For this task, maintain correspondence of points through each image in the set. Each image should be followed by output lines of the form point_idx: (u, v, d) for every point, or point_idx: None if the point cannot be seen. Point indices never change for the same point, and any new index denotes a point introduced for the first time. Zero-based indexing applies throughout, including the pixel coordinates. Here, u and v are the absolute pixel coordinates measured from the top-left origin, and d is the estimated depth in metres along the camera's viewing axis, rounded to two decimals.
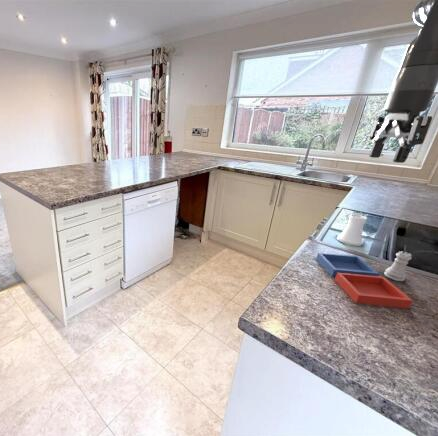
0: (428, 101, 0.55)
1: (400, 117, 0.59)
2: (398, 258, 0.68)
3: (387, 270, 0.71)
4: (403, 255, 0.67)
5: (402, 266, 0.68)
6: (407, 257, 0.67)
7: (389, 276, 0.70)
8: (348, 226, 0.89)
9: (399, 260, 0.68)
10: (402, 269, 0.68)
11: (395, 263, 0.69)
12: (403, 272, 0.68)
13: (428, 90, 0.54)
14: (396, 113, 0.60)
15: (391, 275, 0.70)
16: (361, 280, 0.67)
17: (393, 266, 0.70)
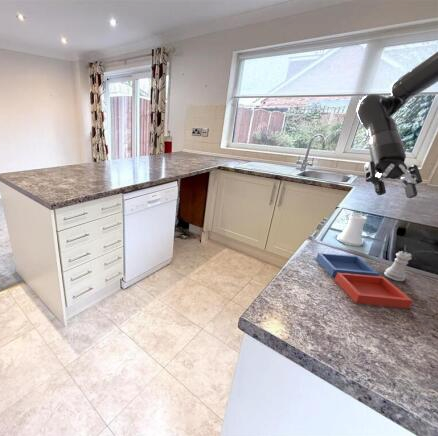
0: (382, 151, 0.75)
1: None
2: (398, 258, 0.68)
3: (387, 270, 0.71)
4: (403, 255, 0.67)
5: (402, 266, 0.68)
6: (407, 257, 0.67)
7: (389, 276, 0.70)
8: (348, 226, 0.89)
9: (399, 260, 0.68)
10: (402, 269, 0.68)
11: (395, 263, 0.69)
12: (403, 272, 0.68)
13: (376, 148, 0.77)
14: None
15: (391, 275, 0.70)
16: (361, 280, 0.67)
17: (393, 266, 0.70)
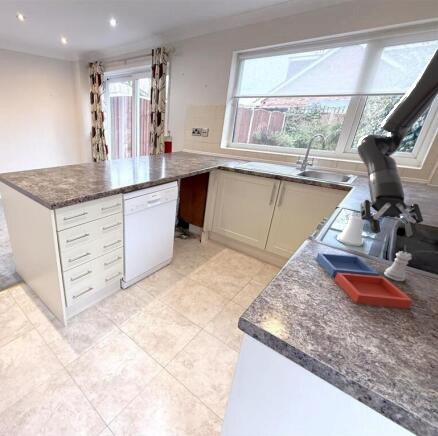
0: (378, 190, 0.76)
1: None
2: (398, 258, 0.68)
3: (387, 270, 0.71)
4: (403, 255, 0.67)
5: (402, 266, 0.68)
6: (407, 257, 0.67)
7: (389, 276, 0.70)
8: (348, 226, 0.89)
9: (399, 260, 0.68)
10: (402, 269, 0.68)
11: (395, 263, 0.69)
12: (403, 272, 0.68)
13: (373, 186, 0.78)
14: None
15: (391, 275, 0.70)
16: (361, 280, 0.67)
17: (393, 266, 0.70)
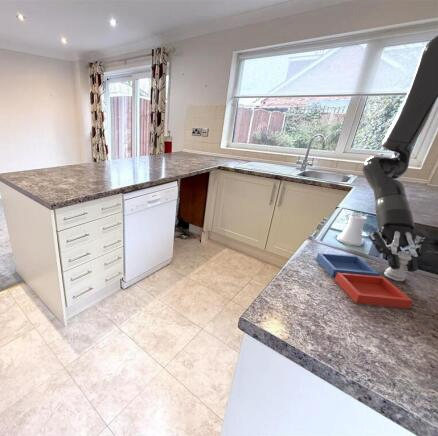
0: (386, 217, 0.72)
1: None
2: (398, 258, 0.68)
3: (387, 270, 0.71)
4: (403, 255, 0.67)
5: (402, 266, 0.68)
6: (407, 257, 0.67)
7: (389, 276, 0.70)
8: (348, 226, 0.89)
9: (399, 260, 0.68)
10: (402, 269, 0.68)
11: None
12: (403, 272, 0.68)
13: (380, 212, 0.74)
14: None
15: (391, 275, 0.70)
16: (361, 280, 0.67)
17: None
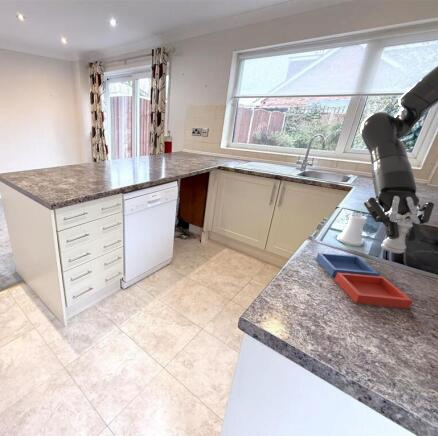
0: (384, 181, 0.62)
1: None
2: None
3: (385, 241, 0.62)
4: (403, 222, 0.58)
5: (402, 235, 0.59)
6: (408, 224, 0.58)
7: (387, 248, 0.61)
8: (348, 226, 0.89)
9: (398, 228, 0.59)
10: (401, 239, 0.59)
11: None
12: (403, 242, 0.59)
13: (377, 176, 0.64)
14: None
15: (389, 246, 0.60)
16: (361, 280, 0.67)
17: None
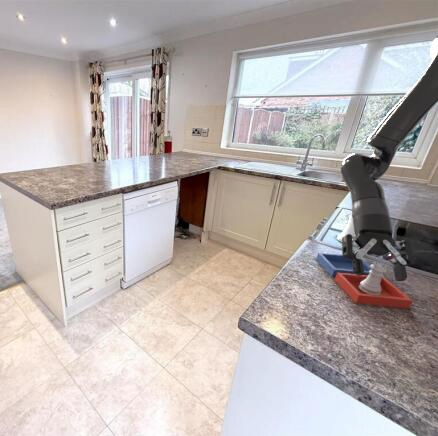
0: (362, 223, 0.65)
1: None
2: (372, 270, 0.62)
3: (361, 283, 0.64)
4: (378, 267, 0.60)
5: (377, 279, 0.61)
6: (382, 269, 0.60)
7: (363, 290, 0.63)
8: (348, 226, 0.89)
9: (374, 272, 0.61)
10: (377, 283, 0.62)
11: (370, 276, 0.62)
12: (378, 286, 0.62)
13: (356, 217, 0.67)
14: None
15: (365, 289, 0.63)
16: (361, 280, 0.67)
17: (367, 279, 0.63)
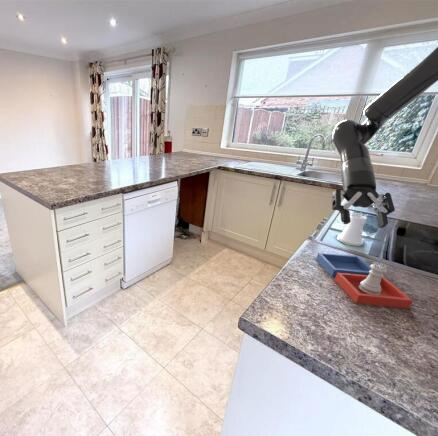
0: (350, 179, 0.73)
1: None
2: (372, 270, 0.62)
3: (361, 283, 0.64)
4: (378, 267, 0.60)
5: (377, 279, 0.61)
6: (382, 269, 0.60)
7: (363, 290, 0.63)
8: (348, 226, 0.89)
9: (374, 272, 0.61)
10: (377, 283, 0.62)
11: (370, 276, 0.62)
12: (378, 286, 0.62)
13: (345, 175, 0.75)
14: None
15: (365, 289, 0.63)
16: (361, 280, 0.67)
17: (367, 279, 0.63)
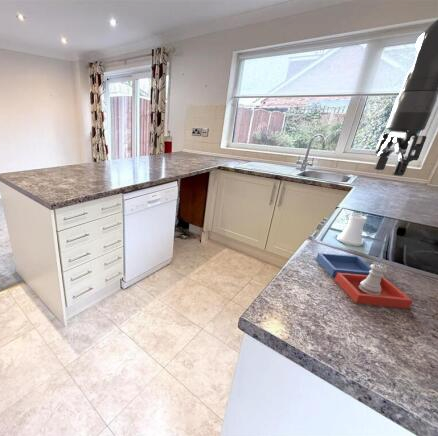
0: (425, 122, 0.62)
1: (399, 135, 0.66)
2: (372, 270, 0.62)
3: (361, 283, 0.64)
4: (378, 267, 0.60)
5: (377, 279, 0.61)
6: (382, 269, 0.60)
7: (363, 290, 0.63)
8: (348, 226, 0.89)
9: (374, 272, 0.61)
10: (377, 283, 0.62)
11: (370, 276, 0.62)
12: (378, 286, 0.62)
13: (424, 112, 0.61)
14: (397, 131, 0.67)
15: (365, 289, 0.63)
16: (361, 280, 0.67)
17: (367, 279, 0.63)
